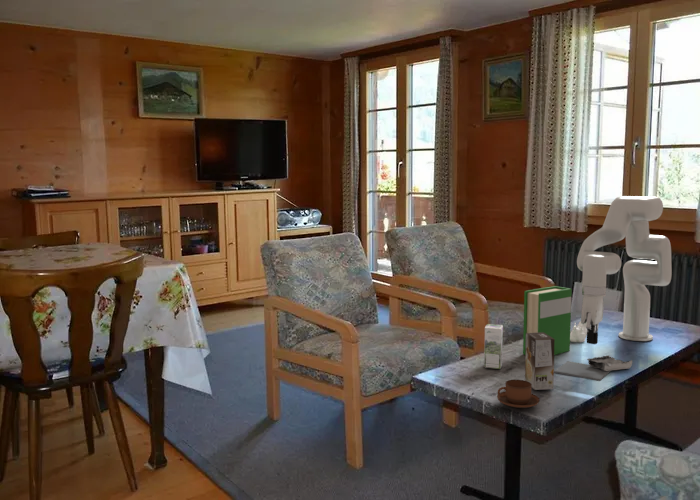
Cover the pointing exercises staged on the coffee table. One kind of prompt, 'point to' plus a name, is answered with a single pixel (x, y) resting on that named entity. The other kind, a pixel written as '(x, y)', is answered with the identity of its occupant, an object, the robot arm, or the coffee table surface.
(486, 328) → the syrup box
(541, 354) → the coffee box
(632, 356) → the coffee table surface
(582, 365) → the mat
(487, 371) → the coffee table surface
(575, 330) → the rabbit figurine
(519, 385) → the cup and saucer
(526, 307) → the hardback book
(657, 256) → the robot arm
